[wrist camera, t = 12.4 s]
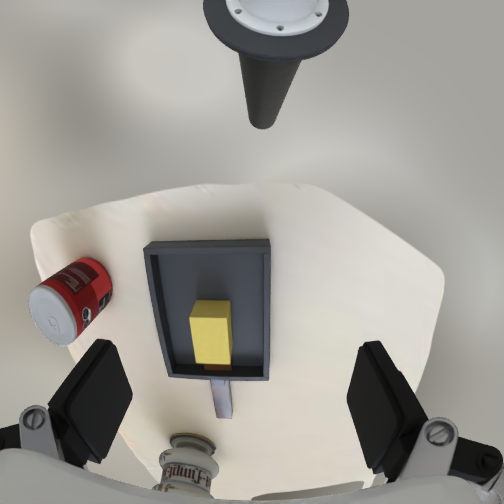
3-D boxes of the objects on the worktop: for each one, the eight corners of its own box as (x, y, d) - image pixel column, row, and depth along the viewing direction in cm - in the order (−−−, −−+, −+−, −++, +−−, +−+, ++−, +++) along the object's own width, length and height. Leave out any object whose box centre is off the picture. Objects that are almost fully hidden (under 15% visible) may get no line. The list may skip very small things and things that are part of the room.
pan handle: (210, 365, 39) (208, 377, 36) (227, 365, 39) (226, 377, 36) (217, 410, 42) (216, 422, 39) (232, 411, 42) (231, 423, 39)
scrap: (202, 343, 37) (201, 348, 36) (230, 344, 37) (230, 349, 36) (205, 364, 38) (204, 369, 37) (232, 365, 38) (231, 370, 37)
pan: (151, 241, 33) (142, 248, 30) (269, 238, 33) (270, 246, 30) (173, 364, 39) (168, 377, 36) (268, 367, 39) (268, 380, 36)
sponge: (196, 299, 35) (189, 317, 31) (230, 300, 35) (226, 318, 31) (201, 343, 37) (196, 363, 33) (232, 344, 37) (230, 364, 33)
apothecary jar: (219, 461, 48) (212, 526, 31) (167, 452, 48) (151, 514, 31) (222, 435, 45) (214, 513, 27) (162, 424, 44) (140, 498, 27)
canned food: (88, 311, 37) (51, 350, 26) (64, 266, 34) (19, 296, 24) (123, 298, 36) (86, 341, 25) (97, 248, 34) (49, 278, 23)
